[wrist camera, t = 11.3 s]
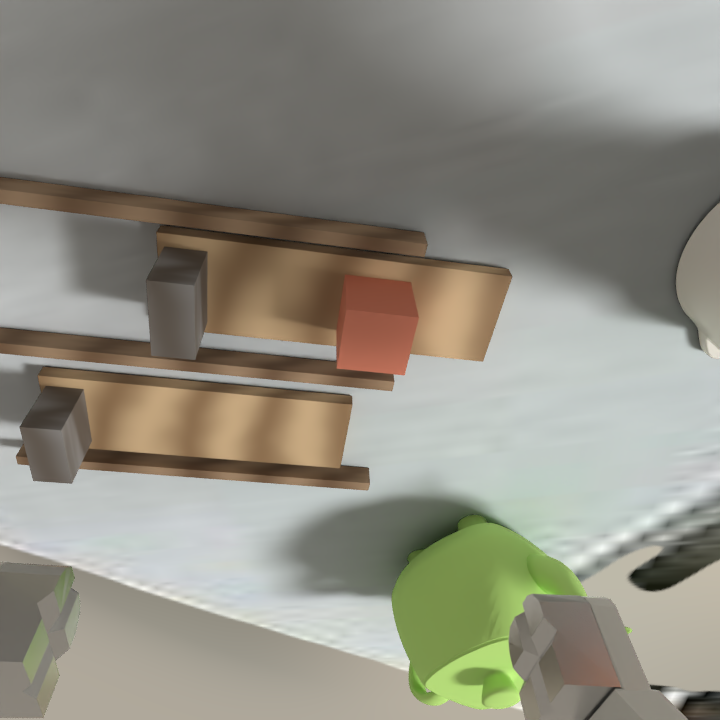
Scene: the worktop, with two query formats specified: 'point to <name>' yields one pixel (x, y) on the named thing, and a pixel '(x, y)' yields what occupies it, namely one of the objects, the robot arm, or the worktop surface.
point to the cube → (375, 325)
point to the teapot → (471, 611)
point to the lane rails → (206, 359)
